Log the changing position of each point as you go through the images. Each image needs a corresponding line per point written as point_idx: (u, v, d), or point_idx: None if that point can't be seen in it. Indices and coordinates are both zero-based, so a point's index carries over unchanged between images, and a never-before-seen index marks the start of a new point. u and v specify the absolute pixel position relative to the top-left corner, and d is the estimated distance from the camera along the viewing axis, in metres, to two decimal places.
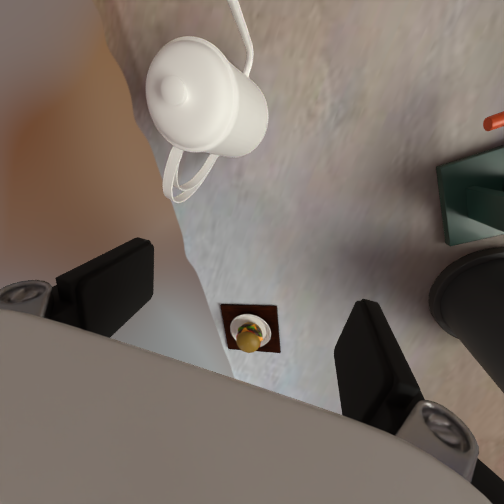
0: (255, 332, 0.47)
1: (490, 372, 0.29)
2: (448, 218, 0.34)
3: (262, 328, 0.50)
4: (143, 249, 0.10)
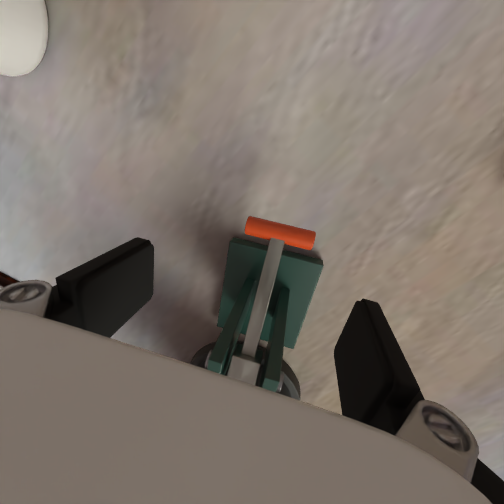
0: None
1: None
2: (222, 299, 0.28)
3: None
4: (143, 249, 0.10)
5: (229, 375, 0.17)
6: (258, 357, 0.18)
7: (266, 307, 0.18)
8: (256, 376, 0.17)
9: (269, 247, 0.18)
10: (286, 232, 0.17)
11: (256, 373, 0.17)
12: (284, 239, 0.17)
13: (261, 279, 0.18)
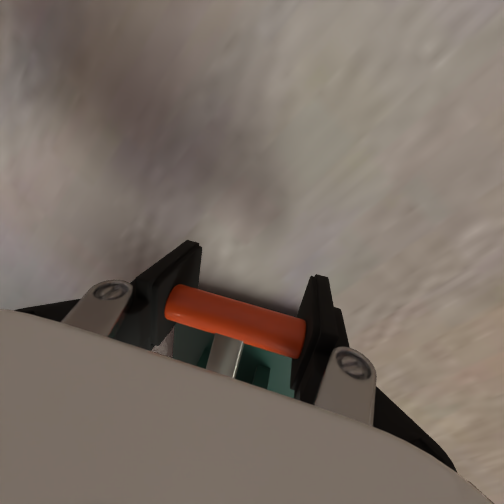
0: None
1: None
2: None
3: None
4: (195, 251, 0.10)
5: None
6: None
7: None
8: None
9: (212, 353, 0.09)
10: (244, 327, 0.08)
11: None
12: (241, 339, 0.08)
13: None
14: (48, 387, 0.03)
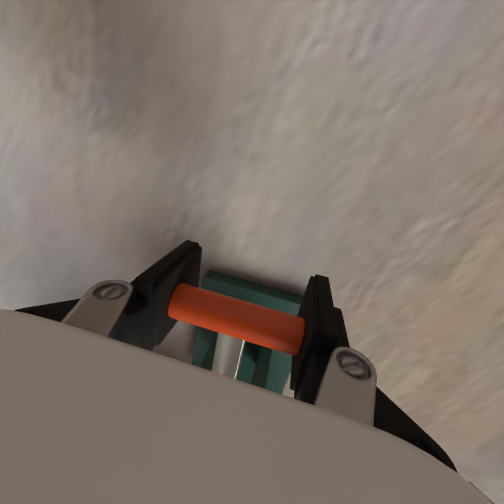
0: None
1: None
2: (197, 340, 0.24)
3: None
4: (195, 251, 0.10)
5: None
6: None
7: None
8: None
9: (217, 346, 0.09)
10: (244, 332, 0.09)
11: None
12: (242, 339, 0.09)
13: None
14: (48, 387, 0.03)
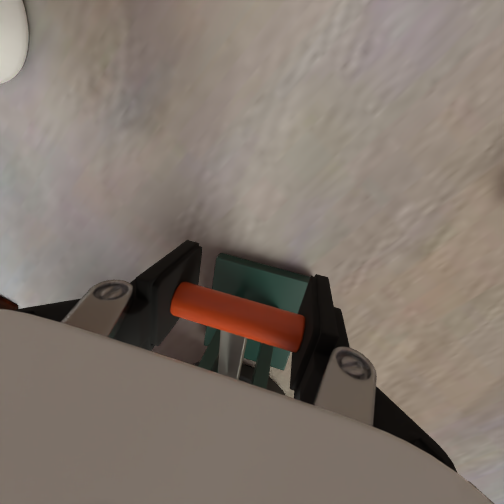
0: None
1: None
2: None
3: None
4: (195, 251, 0.10)
5: None
6: None
7: None
8: None
9: (221, 338, 0.10)
10: (244, 333, 0.09)
11: None
12: (243, 336, 0.09)
13: (220, 362, 0.12)
14: (48, 387, 0.03)
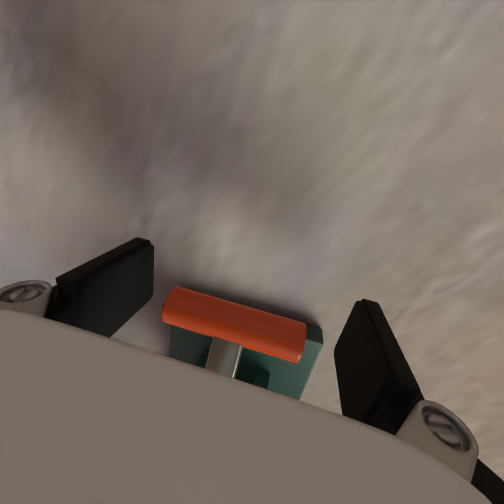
0: None
1: None
2: None
3: None
4: (143, 249, 0.10)
5: None
6: None
7: None
8: None
9: (210, 357, 0.08)
10: (243, 330, 0.08)
11: None
12: (240, 342, 0.08)
13: None
14: (48, 387, 0.03)
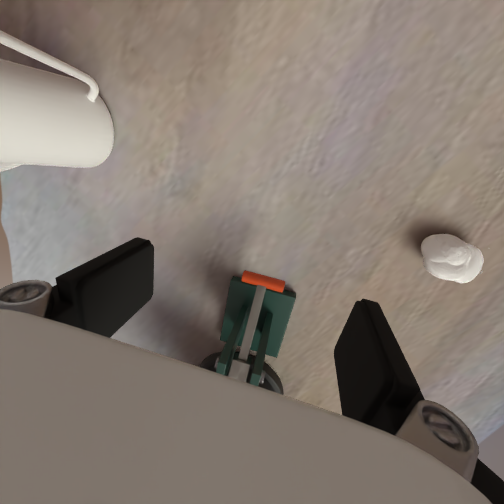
0: None
1: None
2: (224, 319, 0.38)
3: None
4: (143, 249, 0.10)
5: (230, 372, 0.27)
6: (249, 361, 0.28)
7: (254, 328, 0.28)
8: (247, 372, 0.27)
9: (256, 290, 0.28)
10: (266, 282, 0.28)
11: (247, 371, 0.27)
12: (265, 286, 0.28)
13: (251, 310, 0.28)
14: (48, 387, 0.03)
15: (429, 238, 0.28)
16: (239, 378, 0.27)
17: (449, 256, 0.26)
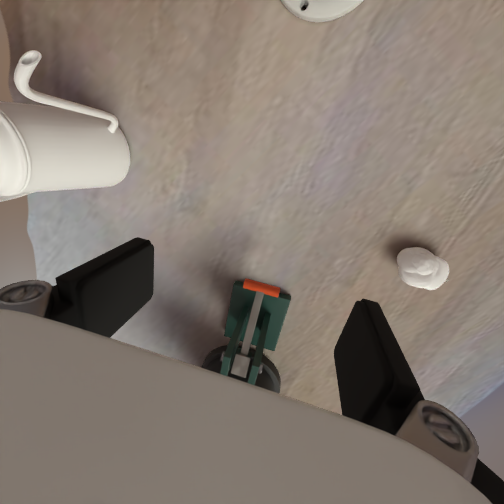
0: None
1: None
2: (228, 318, 0.43)
3: None
4: (143, 249, 0.10)
5: (234, 364, 0.33)
6: (249, 355, 0.33)
7: (254, 328, 0.33)
8: (248, 364, 0.32)
9: (255, 296, 0.33)
10: (264, 288, 0.33)
11: (248, 363, 0.32)
12: (263, 292, 0.33)
13: (251, 313, 0.33)
14: (48, 387, 0.03)
15: (404, 251, 0.33)
16: (241, 369, 0.32)
17: (419, 267, 0.31)
